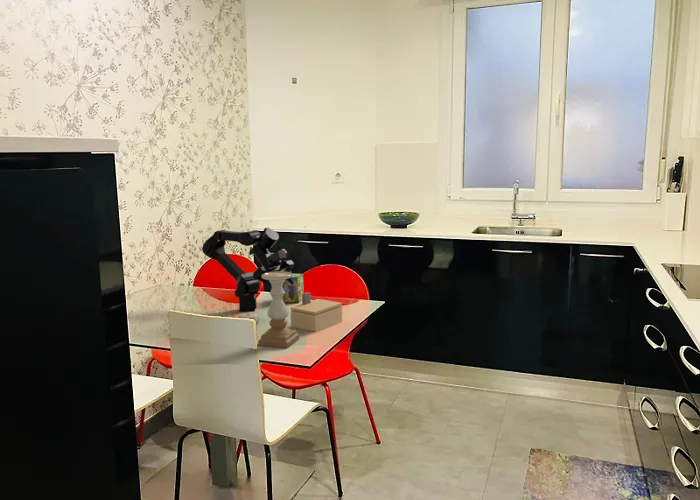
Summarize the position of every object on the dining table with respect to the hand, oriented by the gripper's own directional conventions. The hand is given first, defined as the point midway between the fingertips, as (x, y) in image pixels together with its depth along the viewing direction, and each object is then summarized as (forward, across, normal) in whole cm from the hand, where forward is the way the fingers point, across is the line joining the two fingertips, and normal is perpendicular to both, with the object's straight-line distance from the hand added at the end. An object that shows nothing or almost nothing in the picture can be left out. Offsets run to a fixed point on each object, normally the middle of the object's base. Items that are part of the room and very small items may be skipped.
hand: (285, 286), depth 225 cm
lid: (+16, 0, -7) cm, 17 cm away
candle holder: (+23, -24, -4) cm, 33 cm away
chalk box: (-3, +22, +21) cm, 31 cm away
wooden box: (+20, 0, -2) cm, 20 cm away
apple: (+9, -20, +9) cm, 24 cm away
